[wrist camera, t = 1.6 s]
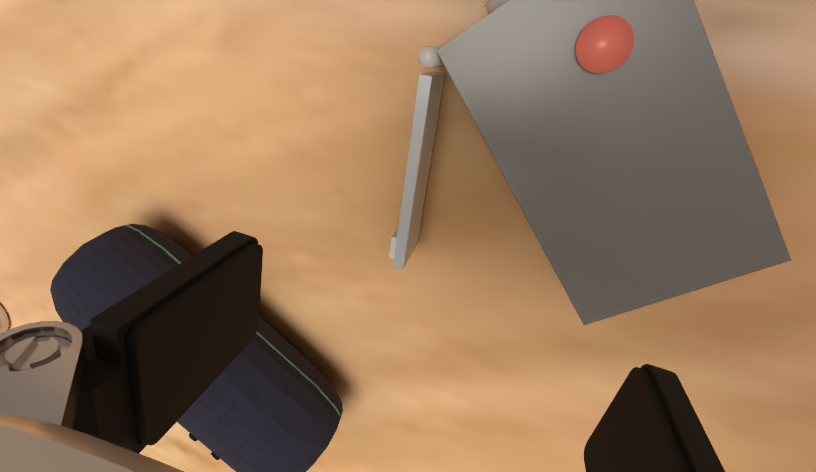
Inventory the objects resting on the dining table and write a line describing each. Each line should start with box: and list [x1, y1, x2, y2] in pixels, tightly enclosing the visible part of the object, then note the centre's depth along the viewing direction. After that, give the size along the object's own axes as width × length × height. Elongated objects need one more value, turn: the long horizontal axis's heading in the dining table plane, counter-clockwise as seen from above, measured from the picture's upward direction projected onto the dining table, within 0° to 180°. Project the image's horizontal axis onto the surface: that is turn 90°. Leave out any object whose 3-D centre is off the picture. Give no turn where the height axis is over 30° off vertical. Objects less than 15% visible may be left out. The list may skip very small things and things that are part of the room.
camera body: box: [418, 0, 791, 325], centre depth 23 cm, size 19×12×6 cm, turn 32°
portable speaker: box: [51, 224, 343, 472], centre depth 35 cm, size 25×10×10 cm, turn 47°
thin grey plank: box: [389, 72, 445, 269], centre depth 26 cm, size 12×1×4 cm, turn 172°
